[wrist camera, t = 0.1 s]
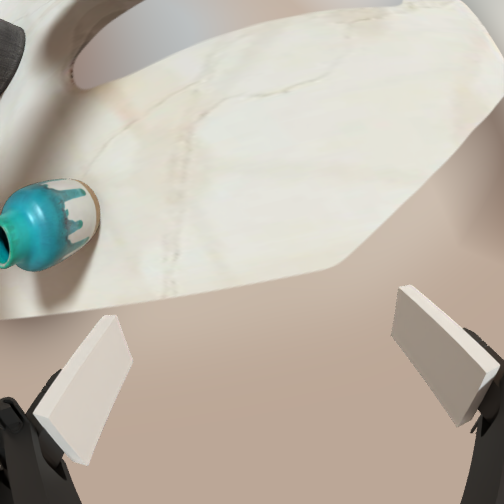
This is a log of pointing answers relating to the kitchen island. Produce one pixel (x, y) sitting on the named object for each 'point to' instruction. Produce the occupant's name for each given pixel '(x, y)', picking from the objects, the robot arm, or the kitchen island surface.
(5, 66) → the planter
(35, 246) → the vase
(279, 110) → the kitchen island surface
